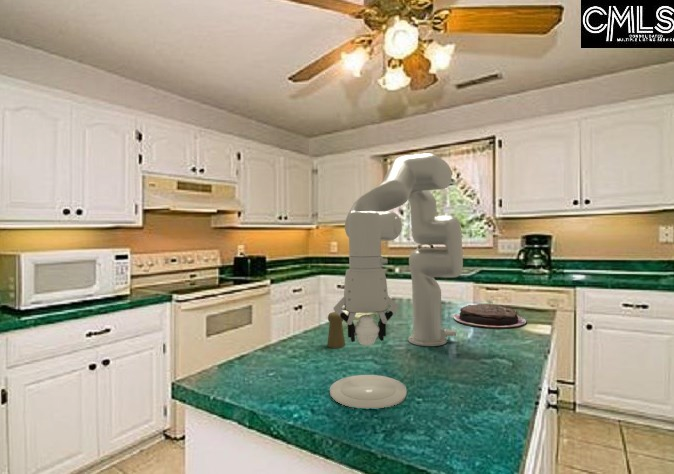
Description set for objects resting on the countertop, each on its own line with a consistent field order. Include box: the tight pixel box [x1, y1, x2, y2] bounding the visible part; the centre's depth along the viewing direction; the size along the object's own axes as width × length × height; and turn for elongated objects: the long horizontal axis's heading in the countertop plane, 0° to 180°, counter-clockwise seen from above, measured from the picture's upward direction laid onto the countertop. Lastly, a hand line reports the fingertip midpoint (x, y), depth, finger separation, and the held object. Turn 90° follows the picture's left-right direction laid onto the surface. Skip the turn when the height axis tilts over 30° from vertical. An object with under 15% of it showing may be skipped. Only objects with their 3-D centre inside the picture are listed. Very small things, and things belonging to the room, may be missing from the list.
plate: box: [329, 374, 407, 409], centre depth 96 cm, size 18×18×1 cm
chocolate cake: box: [453, 303, 527, 330], centre depth 166 cm, size 28×28×7 cm
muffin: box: [354, 313, 380, 346], centre depth 96 cm, size 6×6×7 cm
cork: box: [326, 311, 346, 349], centre depth 136 cm, size 6×6×11 cm
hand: (366, 339), depth 96 cm, fingers closed on muffin, 6 cm apart
